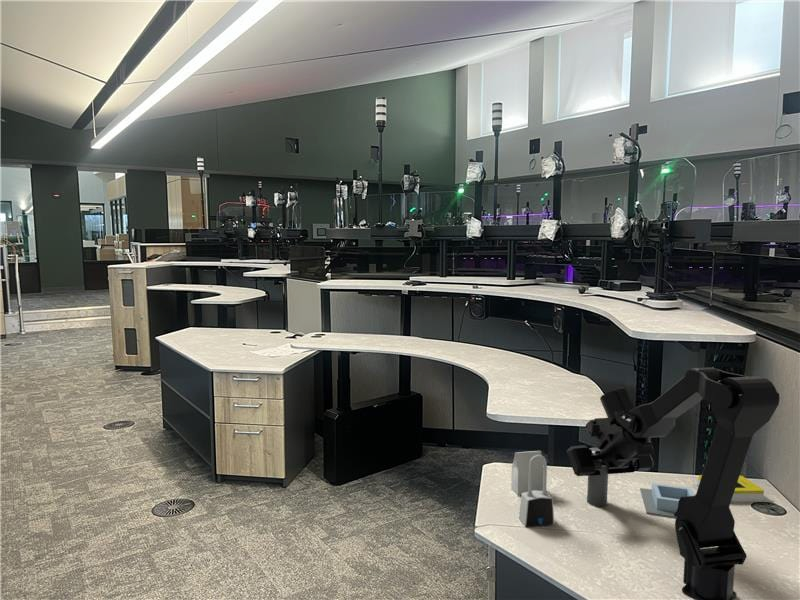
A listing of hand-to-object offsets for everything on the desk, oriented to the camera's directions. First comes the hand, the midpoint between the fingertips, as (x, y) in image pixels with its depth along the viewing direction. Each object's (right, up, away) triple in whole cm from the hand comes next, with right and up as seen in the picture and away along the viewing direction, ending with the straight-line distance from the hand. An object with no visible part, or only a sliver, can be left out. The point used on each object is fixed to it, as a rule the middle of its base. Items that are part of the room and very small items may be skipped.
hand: (594, 473), depth 123 cm
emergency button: (+35, -7, +5) cm, 36 cm away
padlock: (-17, -8, -10) cm, 21 cm away
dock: (+18, -7, -2) cm, 19 cm away
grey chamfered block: (-15, -6, +5) cm, 17 cm away
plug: (0, -7, -1) cm, 7 cm away
